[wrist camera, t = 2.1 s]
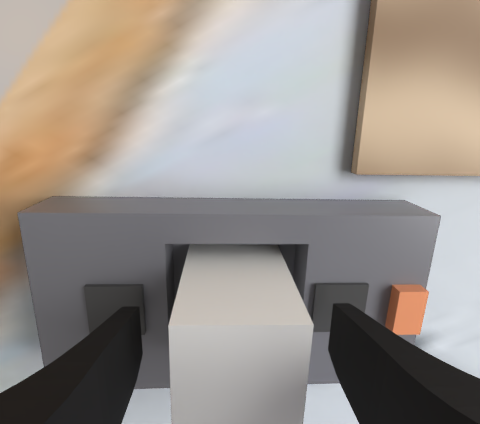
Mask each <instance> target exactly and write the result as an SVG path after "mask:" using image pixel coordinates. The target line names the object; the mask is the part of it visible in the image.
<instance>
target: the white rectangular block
mask: <svg viewBox="0 0 480 424" xmlns="http://www.w3.org/2000/svg"><path fill="white" fill-rule="evenodd" d="M313 327H314V324H313V322H312V320H311V318H310V315H309V313H308V311H307V309H306V307H305V304H304V302H303V300H302V298H301V296H300V293H299V291H298V289H297V287H296V285H295V282H294V280H293V278H292V276H291V273H290V271H289V269H288V267H287V265H286V262H285V260H284V258H283V256H282V254H281V251H280V249H279V247H278V245H233V244H190V245H189V249H188V252H187V256H186V260H185V264H184V268H183V272H182V275H181V279H180V283H179V287H178V291H177V295H176V298H175V302H174V306H173V310H172V314H171V318H170V321H169V325H168V329H169V361H170V392H171V424H303V418H304V409H305V400H306V391H307V382H308V373H309V364H310V355H311V346H312V337H313Z"/></svg>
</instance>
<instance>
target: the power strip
mask: <svg viewBox="0 0 480 424" xmlns="http://www.w3.org/2000/svg"><path fill="white" fill-rule="evenodd" d="M18 219H19V224H20V230H21V236H22V242H23V248H24V253H25V259H26V265H27V271H28V277H29V283H30V288H31V294H32V300H33V306H34V312H35V317H36V323H37V329H38V335H39V341H40V347H41V352H42V358H43V364H44V367H45V366H47V365H48V364H50V363H51V362H53V361H54V360H56V359H57V358H59V357H60V356H61V355H63V354H64V353H65V352H67V351H68V350H69V349H71V348H72V347H73V346H75V345H76V344H77V343H79V342H80V341H81V340H83V339H84V338H85V337H86V336H88V335H89V334H90V333H91V332H92V331H94V330H95V329H96V328H97V327H98V326H100V325H101V324H102V323H103V322H104V321H106V320H107V319H108V318H109V317H110V316H111V315H113V314H114V313H115V312H116V311H117V310H119V309H120V308H121V307H128V306H139V309H140V322H141V336H142V350H143V355H142V360H141V364H140V369H139V373H138V377H137V381H136V384H135V387H134V389H146V388H170V361H169V329H168V325H169V321H170V318H171V314H172V310H173V306H174V302H175V298H176V295H177V291H178V287H179V283H180V279H181V275H182V272H183V268H184V264H185V260H186V256H187V252H188V249H189V245H190V244H233V245H278V247H279V249H280V251H281V254H282V256H283V258H284V260H285V262H286V265H287V267H288V269H289V271H290V273H291V276H292V278H293V280H294V282H295V285H296V287H297V289H298V291H299V293H300V296H301V298H302V300H303V302H304V304H305V307H306V309H307V311H308V313H309V315H310V318H311V320H312V322H313V324H314V327H313V337H312V346H311V355H310V364H309V373H308V382H307V384H329V383H340V382H339V380H338V378H337V375H336V373H335V370H334V367H333V364H332V361H331V358H330V354H329V351H328V344H329V336H330V327H331V318H332V309H333V303H350V304H351V305H353V306H355V307H356V308H358V309H359V310H361V311H362V312H364V313H365V314H367V315H368V316H370V317H371V318H373V319H374V320H376V321H377V322H379V323H380V324H382V325H383V326H385V327H386V328H388V329H389V330H391V331H392V332H394V333H395V334H397V335H398V336H400V337H401V338H403V339H405V340H406V341H408V342H409V343H411V344H413V345H414V343H415V338H416V335H418V334H420V331H421V327H422V322H423V317H424V313H425V308H426V303H427V298H428V294H429V292H428V291H427V290H426V286H427V281H428V276H429V271H430V267H431V262H432V257H433V252H434V248H435V243H436V238H437V233H438V228H439V224H440V219H441V216H440V215H437V214H435V213H433V212H431V211H428V210H426V209H424V208H421V207H419V206H417V205H415V204H412V203H410V202H408V201H405V200H329V199H244V198H160V197H75V196H52V197H50V198H48V199H46V200H44V201H41V202H39V203H37V204H35V205H33V206H31V207H28V208H26V209H24V210H22V211H20V212H18Z"/></svg>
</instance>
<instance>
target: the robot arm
mask: <svg viewBox="0 0 480 424" xmlns="http://www.w3.org/2000/svg"><path fill="white" fill-rule="evenodd" d="M328 351H329V354H330V358H331V361H332V364H333V367H334V370H335V373H336V375H337V378H338V380H339V382H340V384H341V386H342V388H343V390H344V393H345V395H346V397H347V399H348V401H349V403H350V405H351V407H352V409H353V411H354V414H355V416H356V418H357V420H358V422H359V424H480V379H479V378H477V377H475V376H472V375H470V374H468V373H466V372H464V371H461V370H459V369H457V368H455V367H453V366H451V365H449V364H447V363H445V362H443V361H441V360H439V359H438V358H436V357H434V356H432V355H430V354H428V353H426V352H425V351H423V350H421V349H420V348H418V347H416V346H415V345H413V344H411V343H409V342H408V341H406V340H405V339H403V338H401V337H400V336H398V335H397V334H395V333H394V332H392V331H391V330H389V329H388V328H386V327H385V326H383V325H382V324H380V323H379V322H377V321H376V320H374V319H373V318H371V317H370V316H368V315H367V314H365V313H364V312H362V311H361V310H359V309H358V308H356V307H355V306H353V305H351V304H350V303H333V309H332V318H331V327H330V336H329V344H328ZM142 355H143V350H142V336H141V322H140V309H139V306H128V307H121V308H120V309H119V310H117V311H116V312H115V313H114V314H113V315H111V316H110V317H109V318H108V319H107V320H106V321H104V322H103V323H102V324H101V325H100V326H98V327H97V328H96V329H95V330H94V331H92V332H91V333H90V334H89V335H88V336H86V337H85V338H84V339H83V340H81V341H80V342H79V343H77V344H76V345H75V346H73V347H72V348H71V349H69V350H68V351H67V352H65V353H64V354H63V355H61V356H60V357H59V358H57V359H56V360H54V361H53V362H51V363H50V364H48V365H47V366H45V367H44V368H42V369H41V370H39V371H38V372H36V373H34V374H33V375H31V376H30V377H28V378H26V379H25V380H23V381H21V382H20V383H18V384H16V385H14V386H12V387H11V388H9V389H7V390H5V391H3V392H2V393H0V424H121V423H122V420H123V417H124V415H125V412H126V409H127V406H128V404H129V401H130V398H131V395H132V393H133V390H134V387H135V384H136V381H137V377H138V373H139V369H140V364H141V360H142Z"/></svg>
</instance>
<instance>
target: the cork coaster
mask: <svg viewBox="0 0 480 424" xmlns="http://www.w3.org/2000/svg"><path fill="white" fill-rule="evenodd" d="M351 172H352V173H354V174H362V175H450V176H480V0H371V5H370V14H369V22H368V31H367V39H366V48H365V57H364V65H363V74H362V82H361V91H360V99H359V108H358V117H357V125H356V134H355V142H354V151H353V160H352V168H351Z"/></svg>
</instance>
